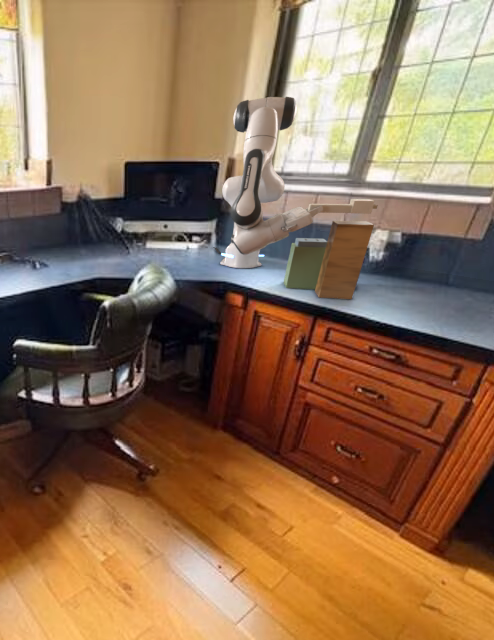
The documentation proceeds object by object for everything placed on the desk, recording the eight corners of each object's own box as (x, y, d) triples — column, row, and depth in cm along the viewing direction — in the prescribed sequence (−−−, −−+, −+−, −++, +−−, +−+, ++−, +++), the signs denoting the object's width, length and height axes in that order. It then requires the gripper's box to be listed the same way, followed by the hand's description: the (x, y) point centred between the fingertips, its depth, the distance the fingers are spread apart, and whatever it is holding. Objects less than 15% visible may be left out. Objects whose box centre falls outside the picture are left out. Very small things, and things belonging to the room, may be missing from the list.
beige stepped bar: (306, 211, 150) (309, 198, 148) (371, 211, 145) (375, 199, 143) (309, 212, 146) (312, 200, 144) (376, 213, 141) (380, 200, 139)
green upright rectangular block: (283, 282, 175) (293, 237, 166) (315, 284, 172) (326, 238, 163) (286, 287, 169) (296, 241, 160) (318, 289, 165) (331, 242, 157)
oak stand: (314, 291, 163) (332, 220, 151) (346, 293, 161) (367, 221, 148) (318, 297, 157) (337, 224, 144) (351, 299, 154) (374, 224, 141)
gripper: (280, 223, 143) (324, 201, 137) (273, 215, 160) (312, 195, 154) (286, 240, 145) (330, 219, 139) (279, 230, 162) (318, 211, 156)
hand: (321, 206), depth 147 cm, fingers closed on beige stepped bar, 3 cm apart
